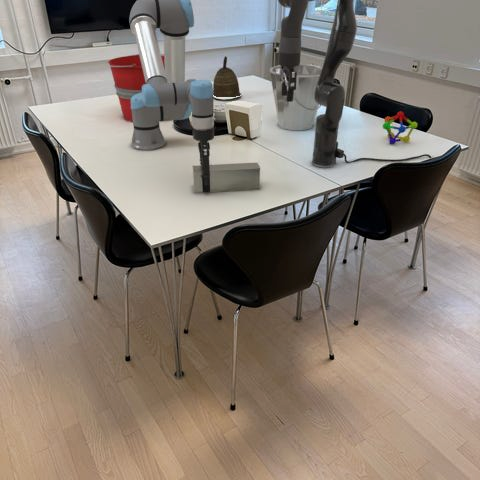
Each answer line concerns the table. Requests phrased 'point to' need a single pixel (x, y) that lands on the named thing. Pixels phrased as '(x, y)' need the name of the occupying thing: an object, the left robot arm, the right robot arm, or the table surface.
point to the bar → (229, 177)
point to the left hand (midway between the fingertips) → (205, 186)
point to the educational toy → (398, 128)
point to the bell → (225, 82)
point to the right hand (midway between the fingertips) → (286, 98)
